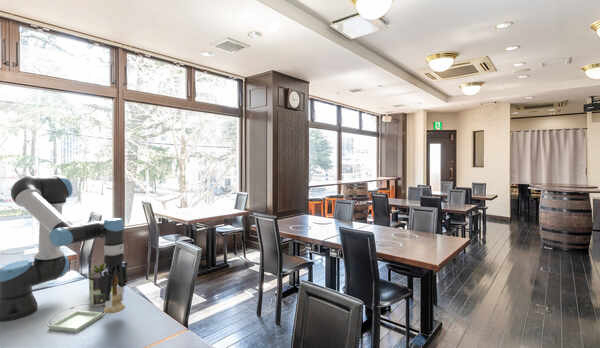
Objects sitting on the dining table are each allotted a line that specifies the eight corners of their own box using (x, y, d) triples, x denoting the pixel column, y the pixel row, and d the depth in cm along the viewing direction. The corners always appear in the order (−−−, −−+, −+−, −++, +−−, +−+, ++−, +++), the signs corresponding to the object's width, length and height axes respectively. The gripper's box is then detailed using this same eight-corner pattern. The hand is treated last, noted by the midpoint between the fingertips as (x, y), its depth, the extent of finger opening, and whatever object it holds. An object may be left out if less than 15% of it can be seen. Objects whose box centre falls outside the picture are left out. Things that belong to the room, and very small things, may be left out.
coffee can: (118, 298, 159) (117, 271, 158) (101, 307, 149) (100, 278, 148) (101, 296, 161) (100, 270, 160) (84, 305, 151) (83, 277, 150)
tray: (49, 329, 129) (48, 325, 129) (77, 314, 142) (77, 310, 142) (76, 332, 126) (76, 328, 126) (103, 316, 140) (102, 312, 140)
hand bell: (129, 306, 140) (129, 272, 139) (114, 315, 132) (113, 278, 131) (115, 303, 142) (114, 270, 141) (99, 312, 134) (98, 276, 133)
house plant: (90, 286, 173) (89, 258, 173) (117, 283, 178) (116, 256, 177) (80, 297, 160) (79, 266, 159) (110, 293, 164) (109, 264, 163)
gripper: (105, 260, 126) (105, 315, 127) (136, 247, 144) (136, 295, 145) (89, 259, 127) (89, 313, 128) (122, 246, 145) (122, 294, 147)
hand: (114, 303), depth 137 cm, fingers closed on hand bell, 6 cm apart
